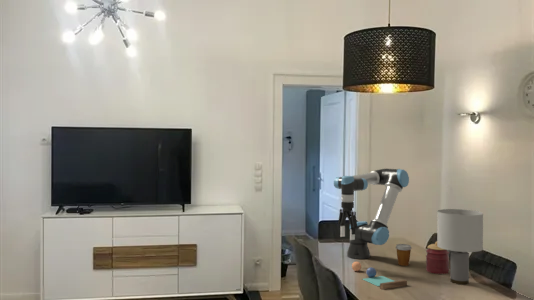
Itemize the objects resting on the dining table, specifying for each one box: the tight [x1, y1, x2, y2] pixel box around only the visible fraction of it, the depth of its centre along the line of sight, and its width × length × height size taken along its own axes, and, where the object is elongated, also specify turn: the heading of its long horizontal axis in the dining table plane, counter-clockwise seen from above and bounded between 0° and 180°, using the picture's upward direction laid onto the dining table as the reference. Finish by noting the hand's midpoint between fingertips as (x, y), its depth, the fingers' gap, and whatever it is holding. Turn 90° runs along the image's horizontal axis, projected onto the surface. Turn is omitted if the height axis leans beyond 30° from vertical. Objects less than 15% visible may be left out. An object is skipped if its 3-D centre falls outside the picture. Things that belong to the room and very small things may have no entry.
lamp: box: [436, 208, 484, 286], centre depth 247 cm, size 23×23×38 cm
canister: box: [425, 241, 450, 275], centre depth 268 cm, size 13×13×18 cm
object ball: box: [365, 266, 377, 278], centre depth 256 cm, size 6×6×6 cm
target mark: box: [362, 275, 395, 287], centre depth 249 cm, size 14×14×1 cm
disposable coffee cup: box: [395, 243, 412, 267], centre depth 283 cm, size 10×10×12 cm
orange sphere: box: [351, 261, 362, 272], centre depth 269 cm, size 6×6×6 cm
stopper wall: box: [379, 279, 408, 290], centre depth 239 cm, size 2×16×2 cm, turn 114°
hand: (347, 238), depth 277 cm, fingers open, 10 cm apart
